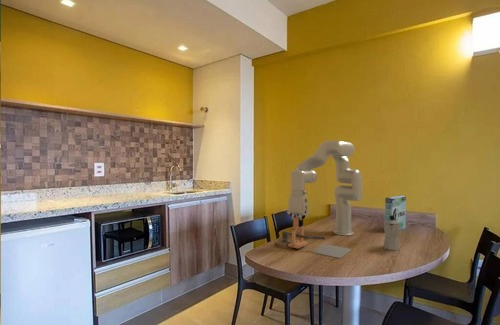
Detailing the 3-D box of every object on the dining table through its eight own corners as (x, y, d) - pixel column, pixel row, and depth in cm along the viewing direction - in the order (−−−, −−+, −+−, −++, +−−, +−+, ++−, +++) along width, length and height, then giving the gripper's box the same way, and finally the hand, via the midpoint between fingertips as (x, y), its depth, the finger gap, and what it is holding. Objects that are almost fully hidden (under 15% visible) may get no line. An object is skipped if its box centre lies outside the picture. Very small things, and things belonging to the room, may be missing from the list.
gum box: (399, 227, 206) (399, 195, 205) (406, 228, 202) (406, 196, 201) (384, 231, 194) (384, 197, 194) (391, 232, 190) (392, 198, 190)
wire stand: (284, 241, 169) (284, 229, 169) (325, 250, 153) (325, 236, 153) (274, 245, 161) (274, 232, 161) (317, 255, 145) (317, 240, 145)
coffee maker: (400, 252, 149) (400, 218, 149) (381, 250, 154) (382, 216, 154) (401, 245, 163) (401, 213, 162) (384, 243, 167) (384, 212, 167)
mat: (325, 244, 163) (325, 244, 163) (351, 250, 154) (351, 249, 154) (312, 252, 150) (312, 251, 150) (340, 258, 141) (340, 257, 141)
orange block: (297, 242, 164) (297, 215, 164) (307, 243, 160) (307, 216, 160) (288, 246, 156) (288, 218, 156) (298, 248, 152) (298, 219, 152)
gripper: (314, 193, 156) (314, 227, 156) (288, 191, 166) (288, 223, 166) (308, 194, 150) (308, 229, 150) (281, 192, 160) (281, 225, 160)
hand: (297, 225), depth 158 cm, fingers closed on orange block, 3 cm apart
